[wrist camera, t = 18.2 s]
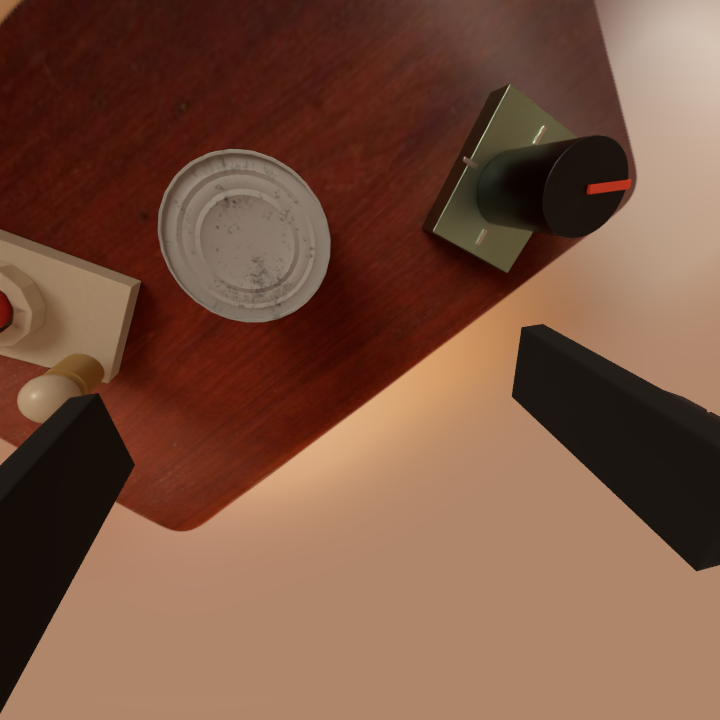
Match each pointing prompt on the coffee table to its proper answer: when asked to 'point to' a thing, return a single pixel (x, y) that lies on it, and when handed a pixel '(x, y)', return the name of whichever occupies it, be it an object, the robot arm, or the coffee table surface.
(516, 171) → the dimmer knob
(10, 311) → the lamp button
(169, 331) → the coffee table surface
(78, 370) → the led lamp
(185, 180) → the unlabeled tin can
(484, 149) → the panel
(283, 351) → the coffee table surface
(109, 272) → the beige button base
